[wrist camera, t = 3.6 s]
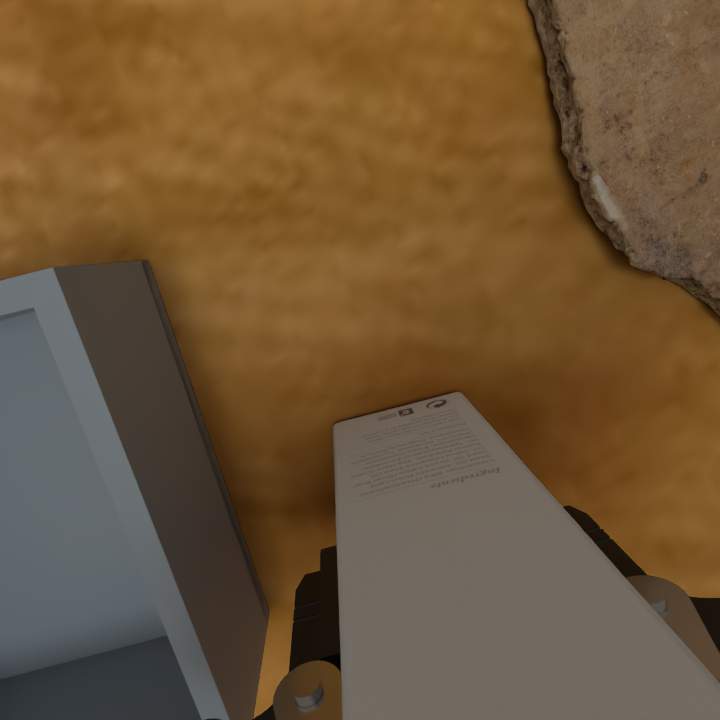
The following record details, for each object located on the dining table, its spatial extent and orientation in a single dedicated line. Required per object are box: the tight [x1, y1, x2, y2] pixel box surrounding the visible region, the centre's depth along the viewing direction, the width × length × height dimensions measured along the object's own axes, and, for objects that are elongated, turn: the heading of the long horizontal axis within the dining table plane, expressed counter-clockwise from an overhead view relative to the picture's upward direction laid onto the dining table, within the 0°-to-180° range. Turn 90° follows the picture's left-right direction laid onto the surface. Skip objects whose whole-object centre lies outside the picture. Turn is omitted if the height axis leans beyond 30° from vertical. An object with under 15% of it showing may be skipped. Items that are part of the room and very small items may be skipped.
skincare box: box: [333, 392, 720, 720], centre depth 10 cm, size 6×4×12 cm
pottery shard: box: [528, 0, 720, 316], centre depth 14 cm, size 8×3×15 cm
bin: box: [0, 260, 269, 720], centre depth 13 cm, size 10×12×5 cm
